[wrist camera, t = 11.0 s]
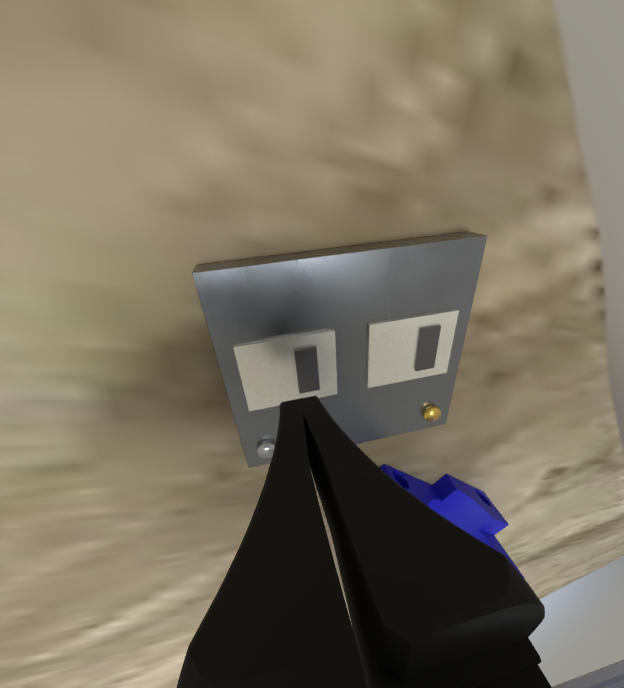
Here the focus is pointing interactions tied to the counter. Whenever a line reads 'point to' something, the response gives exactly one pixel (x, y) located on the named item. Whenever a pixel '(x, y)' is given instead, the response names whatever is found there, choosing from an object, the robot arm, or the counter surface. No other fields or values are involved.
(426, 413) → the panel
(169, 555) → the counter surface
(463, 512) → the cable clip
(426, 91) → the counter surface
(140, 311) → the counter surface
